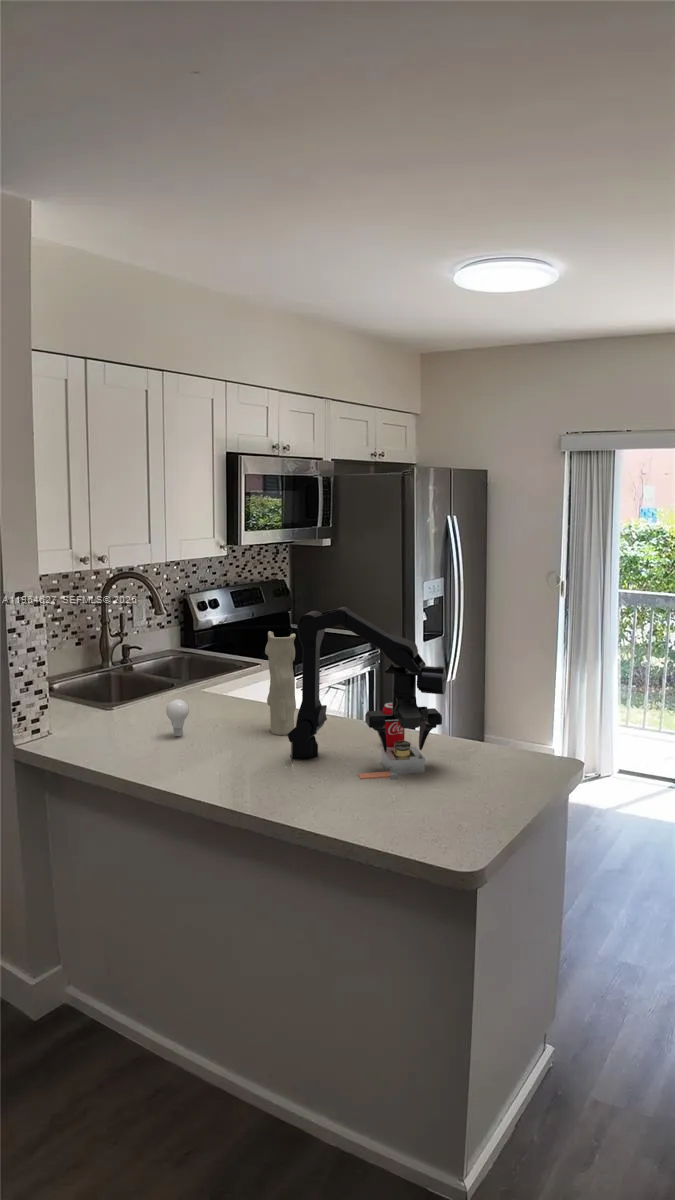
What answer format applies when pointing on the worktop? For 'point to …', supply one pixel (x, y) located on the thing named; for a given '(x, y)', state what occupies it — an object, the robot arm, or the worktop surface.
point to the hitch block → (404, 762)
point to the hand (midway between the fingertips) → (402, 750)
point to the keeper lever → (375, 775)
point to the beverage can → (392, 728)
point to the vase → (281, 683)
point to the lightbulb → (177, 715)
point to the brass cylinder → (401, 749)
